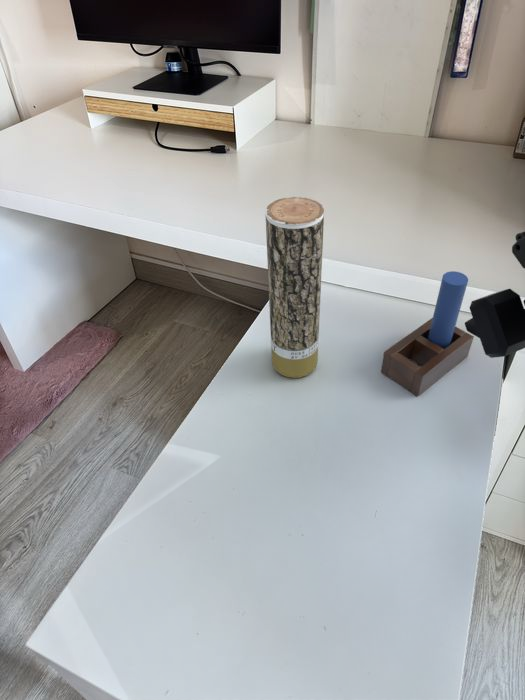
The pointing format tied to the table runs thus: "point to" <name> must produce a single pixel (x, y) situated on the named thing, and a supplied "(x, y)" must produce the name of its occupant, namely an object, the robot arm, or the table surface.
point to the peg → (447, 308)
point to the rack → (424, 358)
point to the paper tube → (294, 282)
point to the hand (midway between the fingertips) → (496, 315)
